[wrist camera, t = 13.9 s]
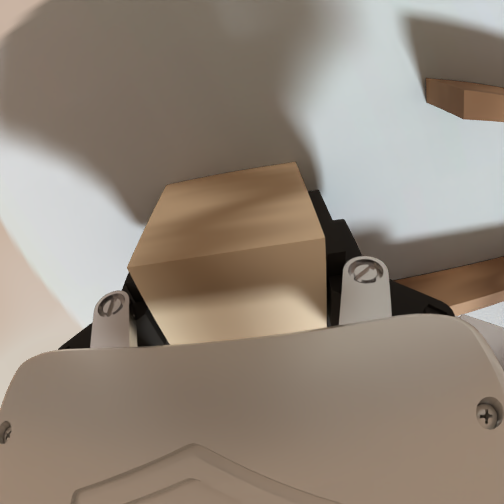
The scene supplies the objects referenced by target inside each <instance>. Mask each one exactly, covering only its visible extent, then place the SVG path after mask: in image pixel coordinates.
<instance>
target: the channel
mask: <svg viewBox="0 0 504 504" xmlns="http://www.w3.org/2000/svg"><path fill="white" fill-rule="evenodd" d="M426 98H427V103H429V104H431V105H434V106H436V107H438V108H441V109H443V110H445V111H447V112H449V113H452V114H454V115H456V116H458V117H460V118H462V119H469V120H485V121H497V122H504V88H501V87H496V86H490V85H484V84H477V83H470V82H462V81H453V80H443V79H431V78H426ZM394 281H395V282H397V283H399V284H402V285H404V286H407V287H409V288H412V289H414V290H416V291H419V292H421V293H424V294H426V295H428V296H431V297H433V298H435V299H438V300H440V301H442V302H444V303H446V304H447V305H448V306H449V307H450V308H451V309H452V310H453V312H454V314H455V316H459V315H461V314H465V313H469V312H472V311H475V310H478V309H481V308H485V307H488V306H491V305H494V304H497V303H500V302H502V301H504V256H503V257H499V258H495V259H491V260H487V261H483V262H479V263H475V264H470V265H466V266H462V267H457V268H453V269H448V270H443V271H439V272H434V273H429V274H425V275H420V276H415V277H410V278H405V279H400V280H394Z"/></svg>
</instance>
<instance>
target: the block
mask: <svg viewBox="0 0 504 504" xmlns="http://www.w3.org/2000/svg"><path fill="white" fill-rule="evenodd" d="M127 269H128V271H129V273H130V275H131V277H132V278H133V280H134V282H135V284H136V286H137V288H138V290H139V292H140V293H141V295H142V297H143V299H144V301H145V303H146V304H147V306H148V308H149V310H150V312H151V313H152V315H153V317H154V319H155V320H156V322H157V324H158V325H159V327H160V329H161V331H162V332H163V334H164V336H165V337H166V339H167V341H168V342H169V344H170V345H175V344H189V343H201V342H212V341H223V340H233V339H242V338H251V337H260V336H268V335H276V334H284V333H291V332H298V331H305V330H312V329H318V328H325V327H327V287H326V247H325V236H324V233H323V231H322V228H321V225H320V222H319V220H318V217H317V214H316V212H315V209H314V207H313V204H312V201H311V199H310V196H309V194H308V191H307V189H306V186H305V184H304V181H303V179H302V176H301V174H300V171H299V169H298V167H297V164H296V162H291V163H284V164H278V165H271V166H264V167H258V168H252V169H246V170H240V171H234V172H229V173H223V174H218V175H213V176H207V177H202V178H197V179H192V180H187V181H183V182H178V183H173V184H169V185H166V187H165V189H164V191H163V193H162V195H161V197H160V199H159V201H158V203H157V205H156V207H155V209H154V211H153V213H152V215H151V217H150V219H149V221H148V223H147V225H146V227H145V229H144V231H143V233H142V235H141V238H140V240H139V242H138V244H137V246H136V248H135V251H134V253H133V255H132V257H131V260H130V262H129V264H128V266H127Z"/></svg>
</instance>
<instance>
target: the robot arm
mask: <svg viewBox="0 0 504 504" xmlns="http://www.w3.org/2000/svg"><path fill="white" fill-rule="evenodd" d="M308 194H309V196H310V199H311V201H312V204H313V207H314V209H315V212H316V214H317V217H318V220H319V222H320V225H321V228H322V231H323V233H324V236H325V247H326V287H327V327H325V328H318V329H312V330H305V331H298V332H291V333H284V334H276V335H268V336H260V337H251V338H242V339H233V340H223V341H212V342H201V343H189V344H175V345H170V344H169V342H168V341H167V339H166V337H165V336H164V334H163V332H162V331H161V329H160V327H159V325H158V324H157V322H156V320H155V319H154V317H153V315H152V313H151V312H150V310H149V308H148V306H147V304H146V303H145V301H144V299H143V297H142V295H141V293H140V292H139V290H138V288H137V286H136V284H135V282H134V280H133V278H132V277H131V275H130V273H128V276H127V278H126V281H125V284H124V286H123V289H122V291H118V290H117V291H113V292H110V293H108V294H106V295H105V296H103V297H102V298H101V299H100V300H99V301H98V302H97V304H96V306H95V309H94V315H93V323H91V324H90V325H89V326H87V327H86V328H85V329H83V330H82V331H81V332H79V333H78V334H77V335H75V336H74V337H73V338H71V339H70V340H69V341H67V342H66V343H65V344H64V345H62V346H61V347H60V348H59V349H58V350H55V351H50V352H46V353H42V354H39V355H37V356H34V357H32V358H30V359H28V360H27V361H25V362H24V363H23V364H22V365H21V366H20V367H19V368H18V370H17V371H16V373H15V375H14V377H13V379H12V381H11V383H10V385H9V387H8V389H7V392H6V394H5V397H4V400H3V402H2V405H1V408H0V504H504V328H503V327H500V326H497V325H494V324H491V323H488V322H485V321H482V320H479V319H476V318H473V317H470V316H467V315H464V314H461V316H460V317H458V316H455V314H454V312H453V310H452V309H451V308H450V307H449V306H448V305H447V304H446V303H444V302H442V301H440V300H438V299H435V298H433V297H431V296H428V295H426V294H424V293H421V292H419V291H416V290H414V289H412V288H409V287H407V286H404V285H402V284H399V283H397V282H395V281H392V280H390V279H389V274H388V269H387V266H386V265H385V264H384V263H383V262H382V261H380V260H379V259H377V258H374V257H369V256H362V255H361V253H360V250H359V248H358V246H357V244H356V242H355V240H354V238H353V236H352V234H351V232H350V230H349V228H348V225H347V223H346V221H345V220H344V219H340V220H332V218H331V216H330V214H329V211H328V209H327V207H326V205H325V203H324V200H323V198H322V196H321V194H320V192H319V190H314V191H308Z"/></svg>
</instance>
